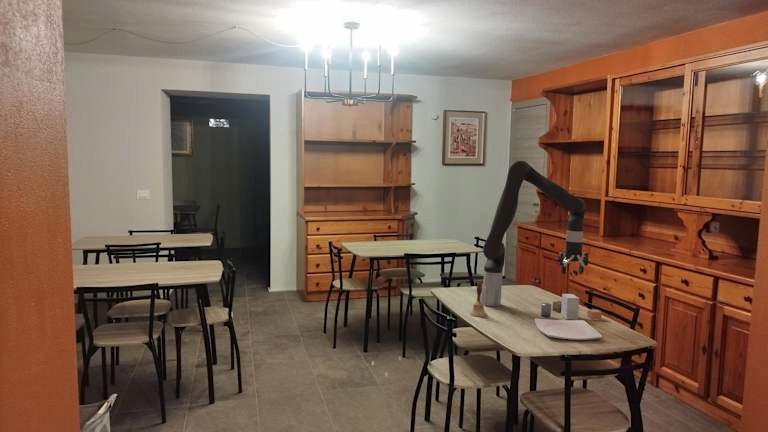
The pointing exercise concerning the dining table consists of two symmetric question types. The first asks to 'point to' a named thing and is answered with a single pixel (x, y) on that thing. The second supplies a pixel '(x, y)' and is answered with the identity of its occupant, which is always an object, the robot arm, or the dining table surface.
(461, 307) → the dining table surface
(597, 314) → the terracotta block
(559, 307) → the walnut block
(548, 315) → the slate grey cylinder
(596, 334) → the plate
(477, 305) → the hand bell
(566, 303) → the small box
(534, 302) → the dining table surface
